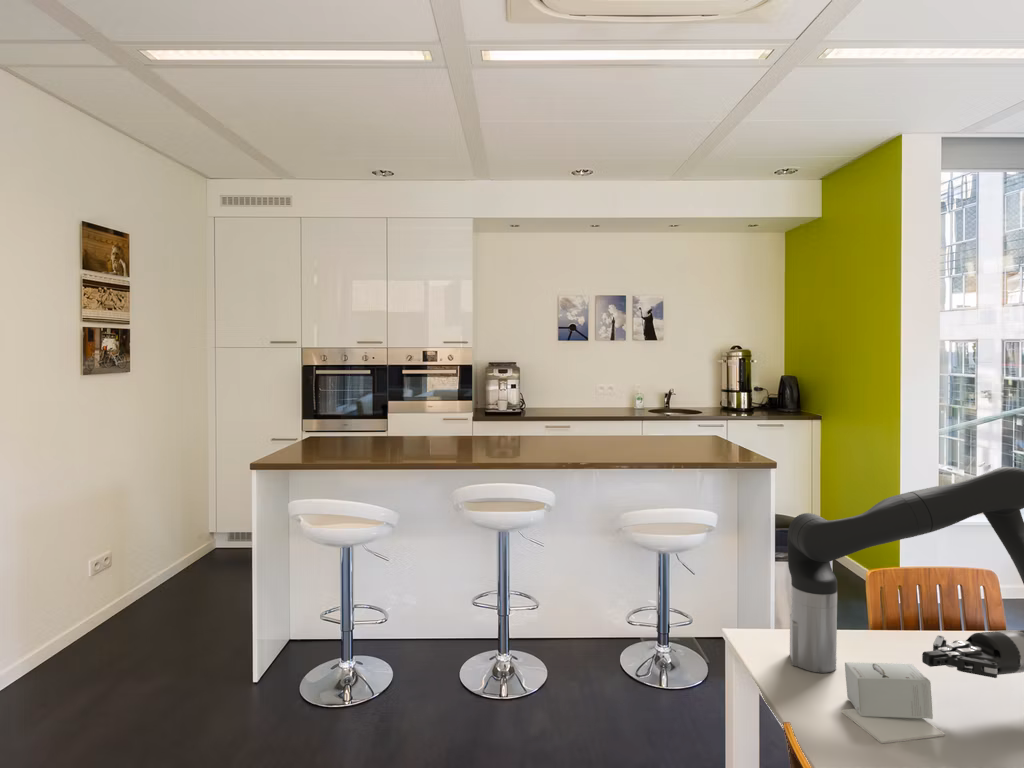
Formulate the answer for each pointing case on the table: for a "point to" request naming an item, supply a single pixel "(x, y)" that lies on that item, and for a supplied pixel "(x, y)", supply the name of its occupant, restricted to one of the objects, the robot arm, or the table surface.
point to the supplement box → (888, 690)
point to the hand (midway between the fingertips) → (925, 659)
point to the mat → (894, 727)
